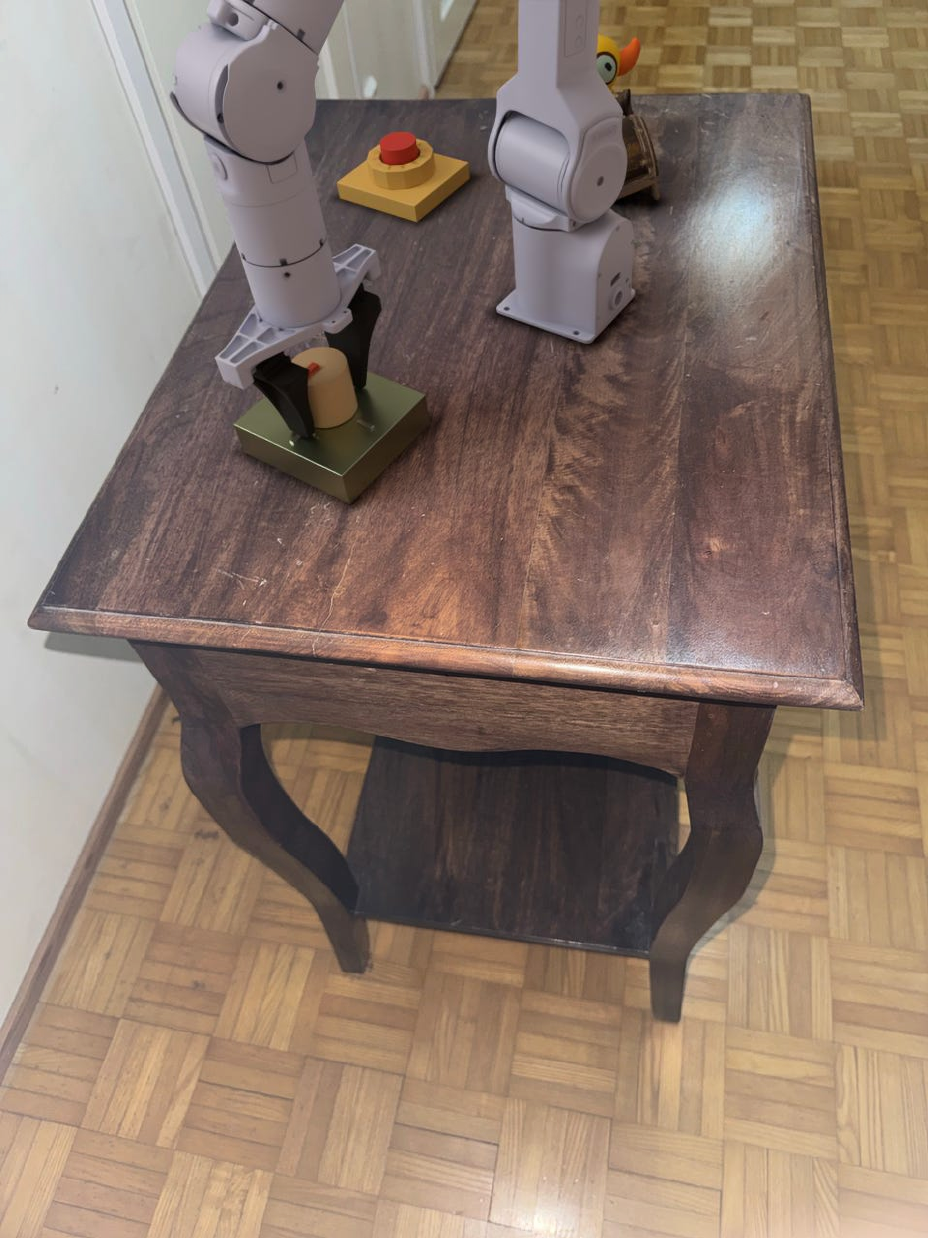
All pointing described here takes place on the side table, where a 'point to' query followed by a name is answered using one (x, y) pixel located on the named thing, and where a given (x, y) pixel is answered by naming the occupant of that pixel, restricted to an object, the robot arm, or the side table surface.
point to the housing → (404, 183)
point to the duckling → (615, 59)
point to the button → (398, 148)
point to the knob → (328, 386)
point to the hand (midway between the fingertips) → (328, 406)
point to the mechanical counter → (639, 158)
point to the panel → (340, 439)
